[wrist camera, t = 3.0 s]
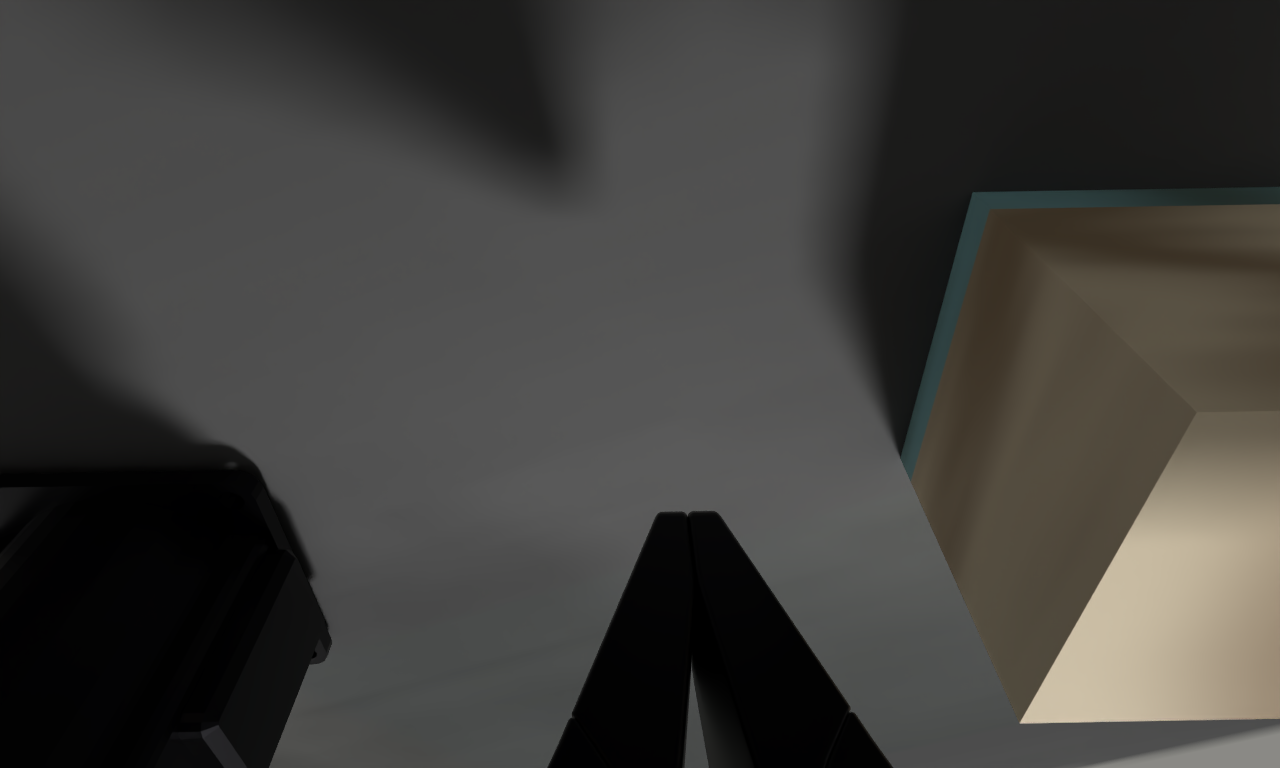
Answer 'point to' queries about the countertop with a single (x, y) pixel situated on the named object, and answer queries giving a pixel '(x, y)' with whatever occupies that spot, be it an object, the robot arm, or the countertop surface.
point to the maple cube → (1112, 449)
